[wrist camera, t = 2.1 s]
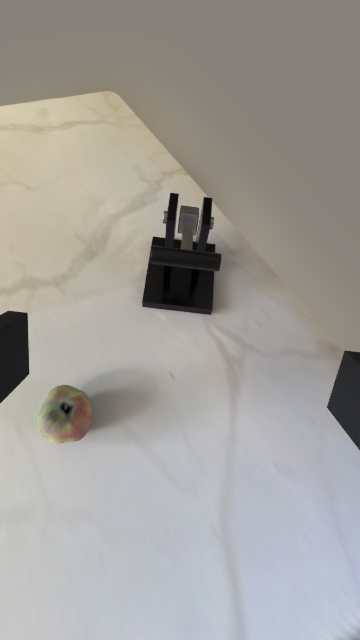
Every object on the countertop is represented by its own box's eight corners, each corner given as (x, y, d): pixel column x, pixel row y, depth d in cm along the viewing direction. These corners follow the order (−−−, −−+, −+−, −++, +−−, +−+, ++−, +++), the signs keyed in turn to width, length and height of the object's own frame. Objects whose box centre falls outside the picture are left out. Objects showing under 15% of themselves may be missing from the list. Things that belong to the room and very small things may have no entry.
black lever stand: (210, 314, 46) (232, 255, 34) (142, 306, 46) (139, 243, 33) (213, 250, 51) (233, 178, 39) (152, 242, 51) (153, 168, 39)
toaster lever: (217, 277, 30) (222, 255, 29) (150, 269, 30) (151, 246, 28) (212, 228, 40) (216, 209, 38) (161, 222, 39) (163, 202, 38)
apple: (49, 467, 35) (32, 465, 30) (43, 398, 39) (26, 385, 33) (103, 451, 37) (95, 447, 31) (92, 386, 40) (83, 372, 35)
